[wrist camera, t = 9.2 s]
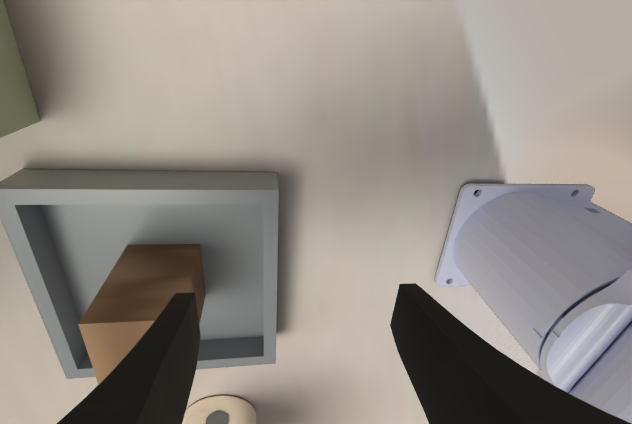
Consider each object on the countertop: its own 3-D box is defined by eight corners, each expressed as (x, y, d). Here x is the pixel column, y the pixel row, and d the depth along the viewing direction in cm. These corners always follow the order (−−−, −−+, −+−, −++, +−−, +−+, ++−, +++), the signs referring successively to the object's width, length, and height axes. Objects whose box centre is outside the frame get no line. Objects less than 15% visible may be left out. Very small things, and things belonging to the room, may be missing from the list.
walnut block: (200, 243, 20) (178, 319, 15) (205, 295, 22) (188, 379, 17) (127, 244, 20) (78, 324, 14) (139, 298, 21) (99, 386, 16)
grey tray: (276, 172, 20) (278, 190, 17) (274, 334, 26) (275, 363, 23) (22, 168, 18) (-12, 189, 15) (84, 346, 24) (66, 378, 21)
